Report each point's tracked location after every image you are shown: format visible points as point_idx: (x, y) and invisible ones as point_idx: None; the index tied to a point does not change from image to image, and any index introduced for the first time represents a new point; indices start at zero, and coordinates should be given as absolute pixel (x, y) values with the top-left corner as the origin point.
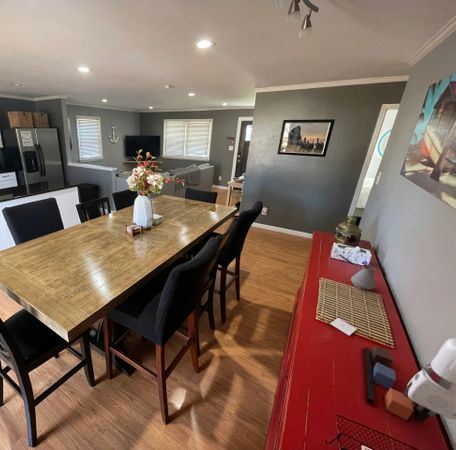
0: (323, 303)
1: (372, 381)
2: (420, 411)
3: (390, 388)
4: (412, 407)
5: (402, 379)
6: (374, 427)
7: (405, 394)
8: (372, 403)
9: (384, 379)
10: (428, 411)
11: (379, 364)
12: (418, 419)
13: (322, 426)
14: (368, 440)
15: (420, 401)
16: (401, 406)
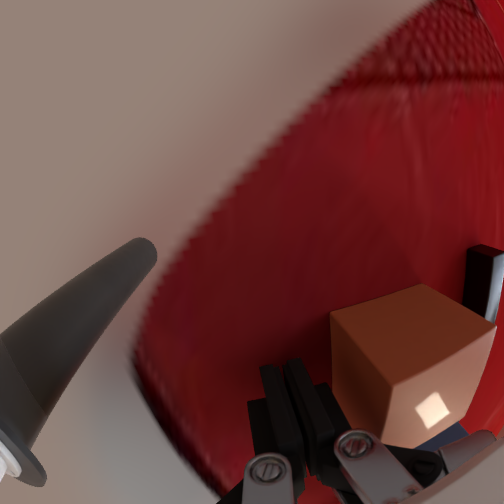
0: None
1: None
2: (331, 430)
3: (464, 413)
4: (390, 408)
5: (315, 493)
6: (448, 93)
7: (490, 442)
8: (477, 250)
9: (431, 442)
10: (291, 479)
11: None
12: (287, 368)
13: (496, 18)
14: (435, 16)
15: (501, 501)
16: (445, 342)
